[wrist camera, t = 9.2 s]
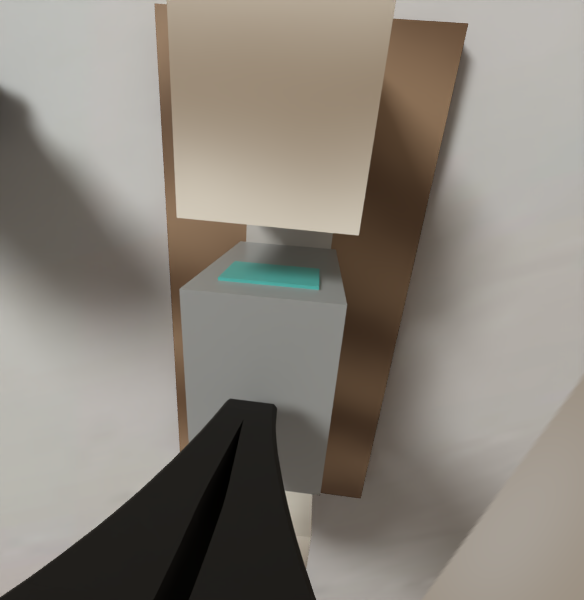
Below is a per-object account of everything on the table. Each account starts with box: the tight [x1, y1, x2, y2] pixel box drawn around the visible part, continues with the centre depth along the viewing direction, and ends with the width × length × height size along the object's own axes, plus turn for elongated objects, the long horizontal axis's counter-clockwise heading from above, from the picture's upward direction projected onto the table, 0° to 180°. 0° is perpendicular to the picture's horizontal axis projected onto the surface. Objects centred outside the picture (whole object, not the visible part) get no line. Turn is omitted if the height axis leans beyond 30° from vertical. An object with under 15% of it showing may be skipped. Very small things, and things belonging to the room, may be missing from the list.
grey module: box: [179, 241, 347, 495], centre depth 13 cm, size 7×4×7 cm, turn 176°
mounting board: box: [155, 0, 468, 568], centre depth 14 cm, size 25×12×8 cm, turn 175°
